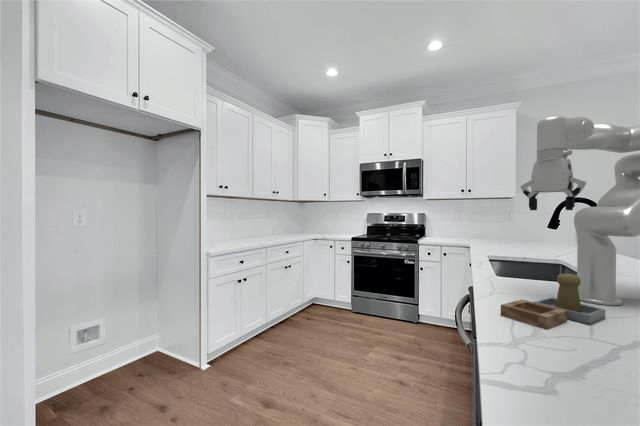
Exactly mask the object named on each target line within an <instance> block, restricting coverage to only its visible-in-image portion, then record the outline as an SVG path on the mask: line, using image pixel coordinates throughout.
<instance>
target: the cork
mask: <svg viewBox="0 0 640 426" xmlns="http://www.w3.org/2000/svg"><path fill="white" fill-rule="evenodd" d="M556 277H557V278H556V281H557V283H558V292H557V294H556V295H557V296H556V299H557V301H556V306H555V307H559V308H563V309H567V310H571V311H575V312H579V313H582V311H581V300H580V298H579V291H578V286H579V285H580V283H581V281H580V278H579V277H578V276H577V274H573V273H559V274H558V275H557V276H556Z"/></svg>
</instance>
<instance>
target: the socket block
mask: <svg viewBox="0 0 640 426" xmlns="http://www.w3.org/2000/svg"><path fill="white" fill-rule="evenodd" d="M534 302H535V301H531V300H525V299H518V300H514V301H509V302H506V303H502V304H500V316H501V317H505V318H508V319H511V320H514V321H518V322H522V323H525V324H528V325H531V326H533V327H537V328H540V329H543V328H544V330H549V329H551V328H554V327H557V326H559V325H562V324H565V323H567V322H568V320H567V310H563V309H559V308H555V307H551V306H546V305H542V304H538V303H534Z"/></svg>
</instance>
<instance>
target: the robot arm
mask: <svg viewBox="0 0 640 426" xmlns="http://www.w3.org/2000/svg"><path fill="white" fill-rule="evenodd" d="M536 124H537V125H536V161H535V162H534V163H533V167H532V172H531V177H530V180H528V181H527V182H526V183H523V184H522V185H520V190H521V191H522V193H523V194H524V195H525V196H526V197H527V199H528V208H529V210H530V211H537V210H538V198H537V196H538V195H539V194H540V193H543V194H544V193H564V194H565V195H566V197H565V207H564V208H565V210H566V211H573V210H574V208H575V205H576V204H575V202H576V201H575V199H576V197H577V196H578V195H579V194H580V193H581V192H582V191H583V189H584V188H585V186H586V184H587V181H584V180H582V179H579V178H577V177H576V178H575V177H574V173H573V166H572V162H571V159H569V158H568V157H569V156H571V155H573V151H572V150H577V151H578V150H579V151H580V150H582V151H586V150H597V151H604V152H611V153H619V154H620V153H621V154H623V153H624V154H625V153H632V152H638V151H640V124H639V125H634V126H629V127H628V126H626V127H625V126H620V125H614V124H611V123H599V124H594V122H593V120H591V119H590V118H588V117H584V116H573V117H572V116H571V117H565V116H561V115H557V116H556V115H555V116H549V117H548V116H547V117H545V118H542V119H540V120H539V121H538V122H537V123H536ZM613 169H614V178H615V184H614V186H613V187H611V188H610V189H609V190H608V191H607V192H606V193H605V194H603V195H602V196H601V197H600V198H599V200H597V203H596V206H589V207H583V208H581V209H579V210H577V212H575V214H574V216H573V224H574V229H575V233H576V239H577V240H576V241H577V242H576V243H577V248H576V249H577V254H576V255H577V257H576V258H577V260H576V262H577V263H576V264H577V265H576V276H578V277H579V278H580V281H581V283H580V285H579V286H578V291H579V298H580V302H581V301H582V302H586V303H590V304H591V303H592V304H595V305H604V306H605V305H606V306H621V305H623V300H622V299H621V298H618V297H616V296H617V294H616V293H617V291H616V290H617V289H616V288H617V287H616V285H617V249H616V246H615V244H614V243H613V241H612V239H611V238H610V237H621V238H623V237H625V238H634V237H638V236H640V152H639V153H632V154H627V155H625V156H622V157H621V158H619V159H617V161H616V162H615V165H614V168H613ZM575 184H576V185H577V186H576V187H575V189H574V185H575ZM529 187H530V191H529V189H528V188H529Z"/></svg>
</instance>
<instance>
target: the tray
mask: <svg viewBox="0 0 640 426" xmlns="http://www.w3.org/2000/svg"><path fill="white" fill-rule="evenodd" d="M556 301H557V298H555V297H547V298H544V299H543V298H542V299H539V300H536V301H533V302H534V303H538V304H542V305H546V306H551V307H555V306H556ZM580 304H581V303H580ZM555 308H559V307H555ZM559 309H563V308H559ZM563 310H567V309H563ZM581 311H582V313H579V312H575V311H571V310H567V321H571V322H576V323H580V324H582V325H587V326H591V325H593V324H596V323H598V322H600V321H603V320H605V319H606V309H605V308H604V309H603V308H601V307H595V306H591V305H587V304H581Z"/></svg>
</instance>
